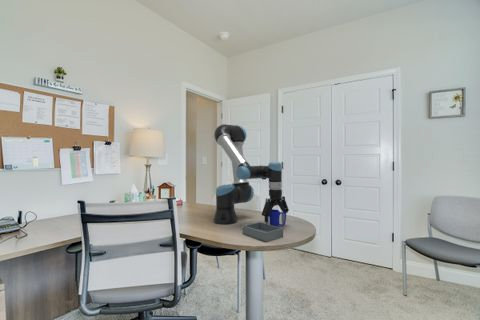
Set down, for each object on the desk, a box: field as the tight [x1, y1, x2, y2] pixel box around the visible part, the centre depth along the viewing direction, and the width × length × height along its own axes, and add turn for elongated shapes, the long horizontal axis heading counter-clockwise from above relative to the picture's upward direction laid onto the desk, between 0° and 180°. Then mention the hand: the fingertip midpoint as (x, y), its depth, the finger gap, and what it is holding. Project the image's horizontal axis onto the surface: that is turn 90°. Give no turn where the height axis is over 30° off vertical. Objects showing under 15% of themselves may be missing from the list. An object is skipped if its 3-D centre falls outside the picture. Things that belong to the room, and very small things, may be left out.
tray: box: [242, 221, 284, 243], centre depth 129 cm, size 17×12×4 cm
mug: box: [269, 208, 287, 227], centre depth 142 cm, size 8×12×10 cm
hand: (275, 225), depth 142 cm, fingers open, 13 cm apart
